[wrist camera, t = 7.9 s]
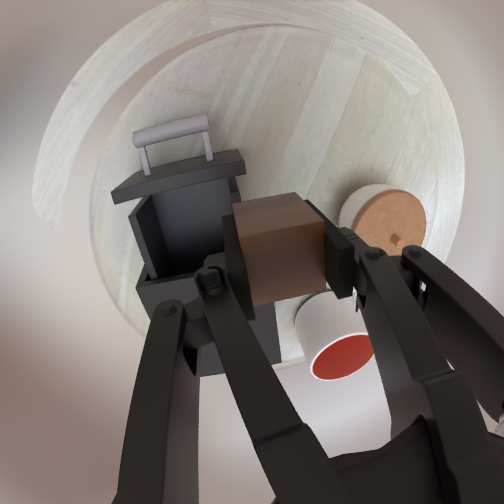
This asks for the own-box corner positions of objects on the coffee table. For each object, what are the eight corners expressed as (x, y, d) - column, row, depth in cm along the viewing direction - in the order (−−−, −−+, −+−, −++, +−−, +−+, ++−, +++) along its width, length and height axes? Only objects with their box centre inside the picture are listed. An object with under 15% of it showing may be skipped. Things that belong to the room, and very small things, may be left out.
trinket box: (345, 161, 31) (387, 180, 23) (404, 191, 34) (447, 216, 25) (313, 237, 35) (341, 276, 27) (373, 255, 38) (406, 291, 30)
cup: (344, 276, 39) (374, 320, 30) (355, 318, 44) (380, 360, 35) (283, 305, 40) (300, 355, 31) (303, 343, 45) (319, 389, 36)
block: (231, 203, 17) (238, 237, 12) (295, 191, 17) (324, 220, 12) (243, 259, 18) (253, 306, 14) (300, 247, 19) (326, 289, 14)
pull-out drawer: (125, 135, 25) (97, 143, 18) (230, 110, 26) (235, 107, 19) (166, 274, 34) (157, 315, 27) (255, 257, 34) (266, 295, 28)
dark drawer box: (153, 242, 33) (134, 288, 24) (253, 221, 33) (268, 262, 25) (185, 327, 40) (182, 379, 31) (268, 312, 40) (281, 362, 32)
